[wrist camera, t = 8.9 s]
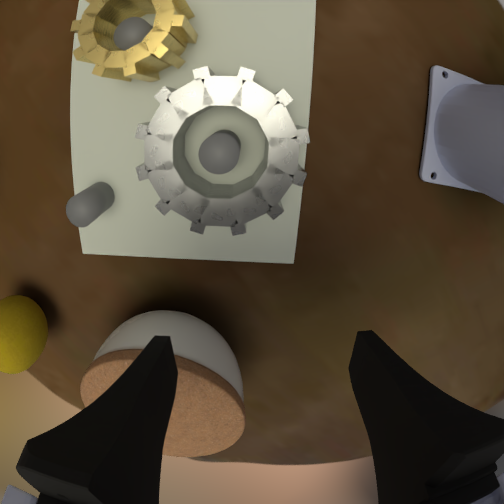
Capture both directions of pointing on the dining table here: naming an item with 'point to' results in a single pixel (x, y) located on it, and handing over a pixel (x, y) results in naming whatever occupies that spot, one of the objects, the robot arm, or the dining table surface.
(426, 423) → the robot arm
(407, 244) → the dining table surface
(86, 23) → the brass gear
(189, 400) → the lidded jar
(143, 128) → the gear
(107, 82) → the gear board
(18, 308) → the lemon
